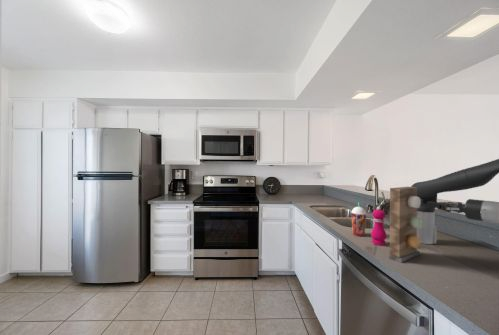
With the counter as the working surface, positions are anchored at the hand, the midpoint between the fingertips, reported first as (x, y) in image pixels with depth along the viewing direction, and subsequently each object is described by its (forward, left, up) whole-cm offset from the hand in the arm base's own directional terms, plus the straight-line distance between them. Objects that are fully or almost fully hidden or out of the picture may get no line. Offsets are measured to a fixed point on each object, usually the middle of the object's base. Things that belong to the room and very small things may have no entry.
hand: (427, 203), depth 92 cm
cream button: (+3, -4, -2) cm, 5 cm away
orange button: (+3, -4, -20) cm, 21 cm away
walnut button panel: (+5, -7, -26) cm, 27 cm away
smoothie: (+16, -36, -26) cm, 48 cm away
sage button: (+2, -3, -11) cm, 12 cm away
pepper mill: (+10, -22, -26) cm, 36 cm away
